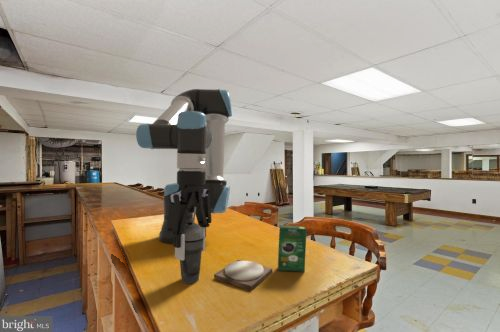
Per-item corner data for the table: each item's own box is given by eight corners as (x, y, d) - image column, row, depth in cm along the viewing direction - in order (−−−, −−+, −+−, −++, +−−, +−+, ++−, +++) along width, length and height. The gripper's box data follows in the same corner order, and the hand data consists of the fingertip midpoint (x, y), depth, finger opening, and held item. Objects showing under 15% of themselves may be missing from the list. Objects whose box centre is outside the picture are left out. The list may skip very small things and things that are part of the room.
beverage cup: (179, 274, 71) (179, 204, 71) (205, 273, 72) (205, 204, 71) (173, 287, 64) (174, 209, 63) (202, 286, 64) (203, 209, 64)
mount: (214, 278, 69) (214, 271, 69) (238, 263, 79) (238, 257, 79) (251, 290, 63) (251, 283, 63) (272, 272, 73) (272, 265, 73)
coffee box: (304, 268, 76) (305, 225, 76) (305, 272, 74) (306, 228, 73) (277, 267, 77) (278, 224, 77) (278, 271, 74) (279, 227, 74)
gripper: (172, 171, 57) (171, 271, 57) (225, 169, 74) (223, 246, 74) (150, 170, 60) (150, 264, 61) (205, 168, 78) (204, 241, 78)
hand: (190, 254), depth 68 cm, fingers closed on beverage cup, 7 cm apart
